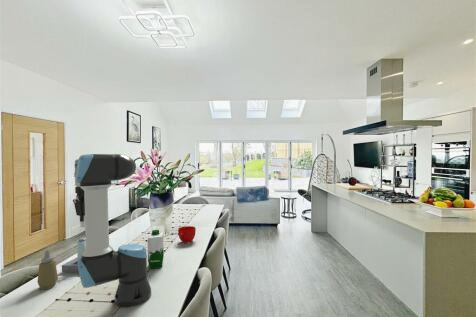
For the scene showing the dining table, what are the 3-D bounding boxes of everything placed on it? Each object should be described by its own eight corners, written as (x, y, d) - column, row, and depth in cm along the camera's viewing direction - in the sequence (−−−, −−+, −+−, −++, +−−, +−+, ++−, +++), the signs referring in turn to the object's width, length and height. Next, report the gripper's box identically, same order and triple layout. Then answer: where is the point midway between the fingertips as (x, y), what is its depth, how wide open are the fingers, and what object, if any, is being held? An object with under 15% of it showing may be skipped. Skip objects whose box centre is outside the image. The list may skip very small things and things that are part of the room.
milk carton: (163, 261, 152) (163, 228, 152) (163, 268, 143) (163, 233, 143) (148, 263, 150) (148, 230, 150) (147, 270, 141) (146, 234, 141)
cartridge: (83, 270, 142) (83, 240, 142) (75, 270, 143) (74, 240, 143) (90, 266, 147) (89, 237, 147) (82, 266, 148) (81, 237, 148)
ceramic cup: (172, 245, 180) (172, 232, 180) (183, 238, 197) (182, 225, 197) (189, 247, 177) (188, 232, 177) (198, 239, 194) (198, 226, 194)
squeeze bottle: (55, 281, 130) (54, 246, 130) (60, 285, 125) (59, 249, 125) (35, 287, 124) (34, 250, 124) (39, 292, 119) (39, 254, 119)
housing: (88, 273, 138) (88, 266, 138) (61, 272, 140) (61, 265, 140) (114, 256, 162) (114, 250, 162) (92, 255, 164) (92, 249, 164)
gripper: (80, 187, 139) (80, 229, 139) (96, 184, 152) (97, 223, 152) (67, 187, 140) (68, 229, 140) (85, 184, 153) (86, 223, 153)
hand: (83, 226), depth 146 cm, fingers closed
